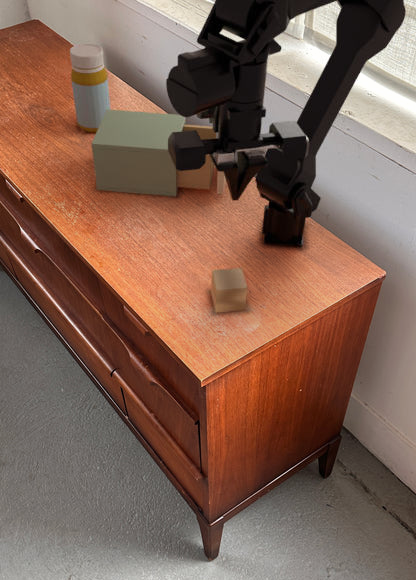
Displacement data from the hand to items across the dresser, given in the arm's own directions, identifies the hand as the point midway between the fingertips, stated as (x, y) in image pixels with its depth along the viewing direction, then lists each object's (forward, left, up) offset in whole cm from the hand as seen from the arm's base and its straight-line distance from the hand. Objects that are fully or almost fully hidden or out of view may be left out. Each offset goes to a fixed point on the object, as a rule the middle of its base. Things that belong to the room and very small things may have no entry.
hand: (234, 198), depth 92 cm
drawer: (+7, -24, -11) cm, 27 cm away
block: (0, +9, -12) cm, 15 cm away
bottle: (+32, -41, -12) cm, 53 cm away
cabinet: (+19, -24, -12) cm, 33 cm away
